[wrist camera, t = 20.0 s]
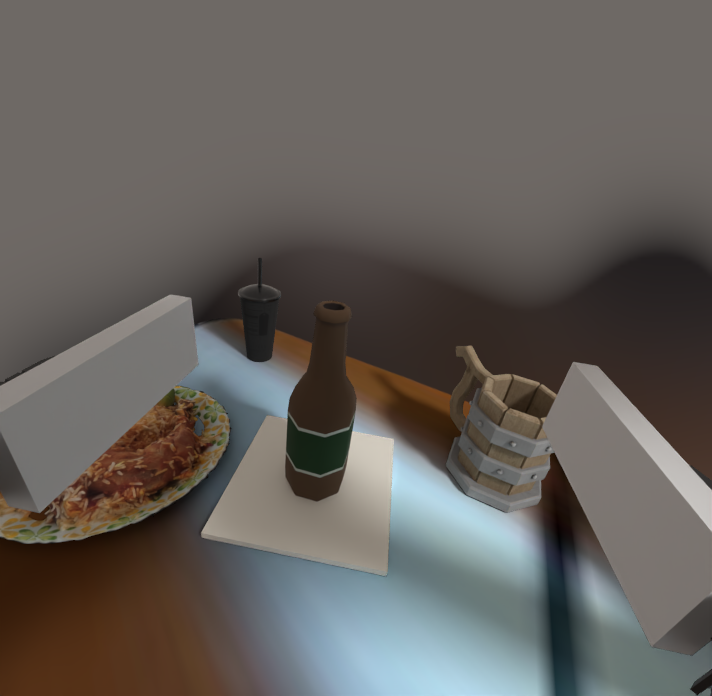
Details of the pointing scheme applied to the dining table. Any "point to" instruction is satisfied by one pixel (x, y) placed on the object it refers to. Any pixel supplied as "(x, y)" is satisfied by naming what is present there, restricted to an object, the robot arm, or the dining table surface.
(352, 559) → the square board
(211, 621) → the dining table surface
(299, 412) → the beer bottle
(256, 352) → the drinking cup
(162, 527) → the dining table surface
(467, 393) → the tankard
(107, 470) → the rice dish
